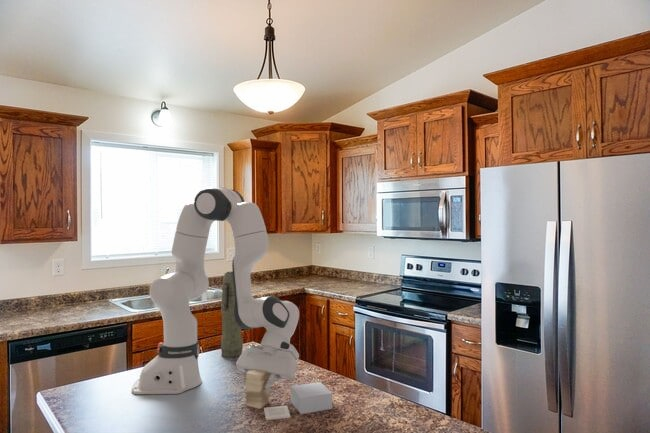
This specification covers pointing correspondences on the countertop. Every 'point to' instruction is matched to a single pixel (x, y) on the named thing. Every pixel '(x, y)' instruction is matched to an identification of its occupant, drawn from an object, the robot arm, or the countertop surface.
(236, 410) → the countertop surface
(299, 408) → the grey-blue block
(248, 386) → the maple block
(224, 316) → the thermos
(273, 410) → the picture tile
